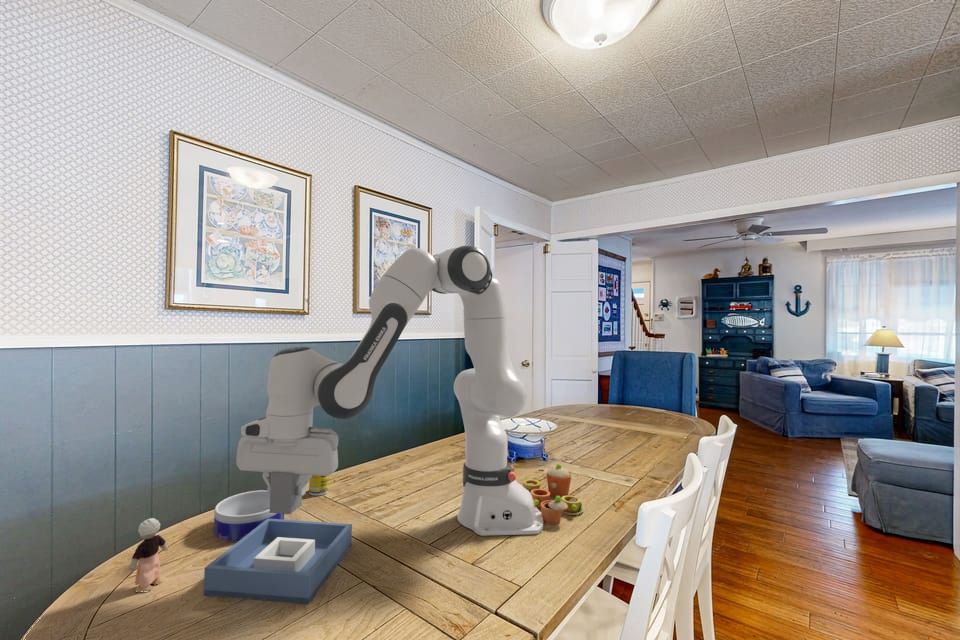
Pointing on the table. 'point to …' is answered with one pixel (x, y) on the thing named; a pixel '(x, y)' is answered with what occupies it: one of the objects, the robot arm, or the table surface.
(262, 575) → the walled tray
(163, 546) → the grandmother figurine
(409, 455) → the table surface
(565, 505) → the toy tea set
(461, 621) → the table surface
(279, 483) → the connector plug
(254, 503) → the dog bowl
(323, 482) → the supplement bottle
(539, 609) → the table surface
